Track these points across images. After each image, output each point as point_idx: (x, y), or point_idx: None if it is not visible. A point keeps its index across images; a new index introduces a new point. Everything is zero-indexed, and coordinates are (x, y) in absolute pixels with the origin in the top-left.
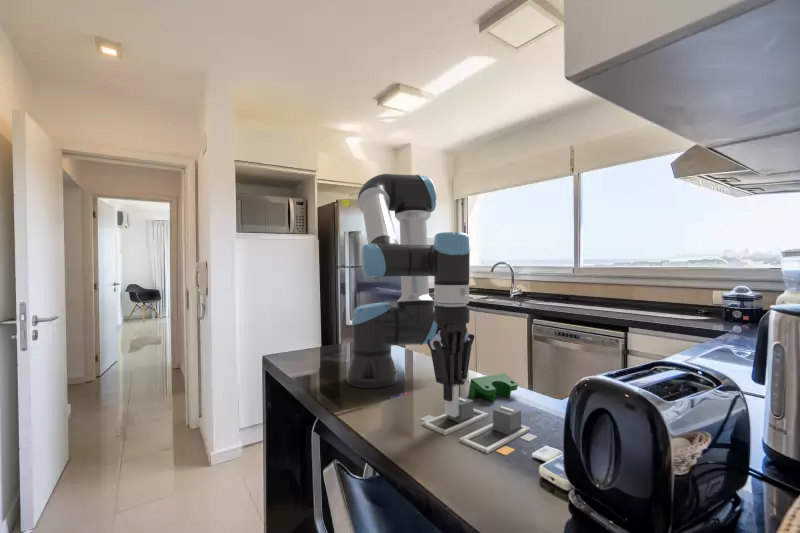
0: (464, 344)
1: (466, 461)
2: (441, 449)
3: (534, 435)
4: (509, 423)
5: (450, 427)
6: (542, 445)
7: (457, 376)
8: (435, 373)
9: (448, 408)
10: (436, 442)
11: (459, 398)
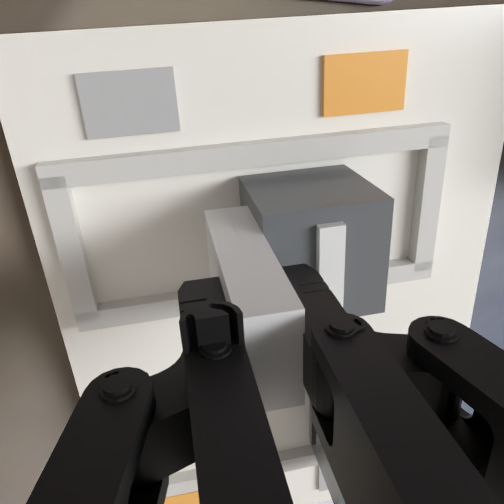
0: None
1: (48, 459)
2: (13, 360)
3: None
4: (325, 478)
5: (141, 305)
6: None
7: (328, 453)
8: (43, 487)
9: (211, 257)
10: (32, 303)
11: (332, 265)
